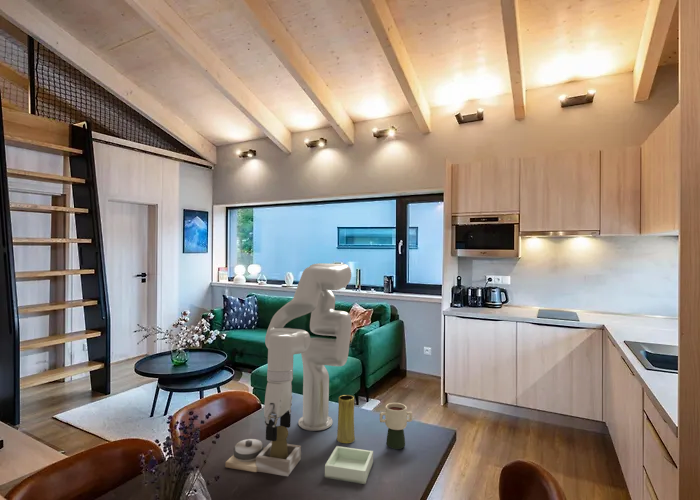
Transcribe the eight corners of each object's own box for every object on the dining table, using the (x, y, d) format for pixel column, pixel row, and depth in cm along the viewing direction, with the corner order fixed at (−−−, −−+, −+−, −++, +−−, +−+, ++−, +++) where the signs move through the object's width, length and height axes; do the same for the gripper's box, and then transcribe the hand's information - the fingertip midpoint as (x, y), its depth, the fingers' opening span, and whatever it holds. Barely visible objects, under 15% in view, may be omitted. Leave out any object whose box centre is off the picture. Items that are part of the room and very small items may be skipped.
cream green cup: (409, 440, 134) (409, 402, 134) (414, 451, 127) (415, 410, 127) (377, 441, 133) (378, 402, 133) (381, 452, 126) (381, 411, 126)
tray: (336, 457, 122) (336, 446, 123) (373, 462, 120) (373, 451, 120) (324, 477, 111) (324, 465, 111) (365, 484, 108) (365, 471, 108)
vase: (357, 437, 136) (357, 395, 136) (351, 445, 130) (351, 401, 131) (340, 434, 138) (341, 393, 138) (334, 442, 132) (334, 399, 133)
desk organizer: (244, 449, 127) (244, 432, 127) (301, 458, 122) (301, 440, 122) (225, 467, 116) (225, 448, 116) (287, 477, 111) (287, 457, 111)
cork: (284, 471, 114) (285, 433, 114) (265, 468, 115) (265, 431, 115) (292, 460, 120) (292, 424, 120) (273, 458, 121) (273, 422, 121)
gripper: (280, 366, 127) (279, 421, 126) (254, 381, 110) (252, 444, 110) (302, 368, 125) (301, 423, 125) (279, 384, 109) (277, 447, 108)
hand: (278, 433), depth 117 cm, fingers open, 9 cm apart
